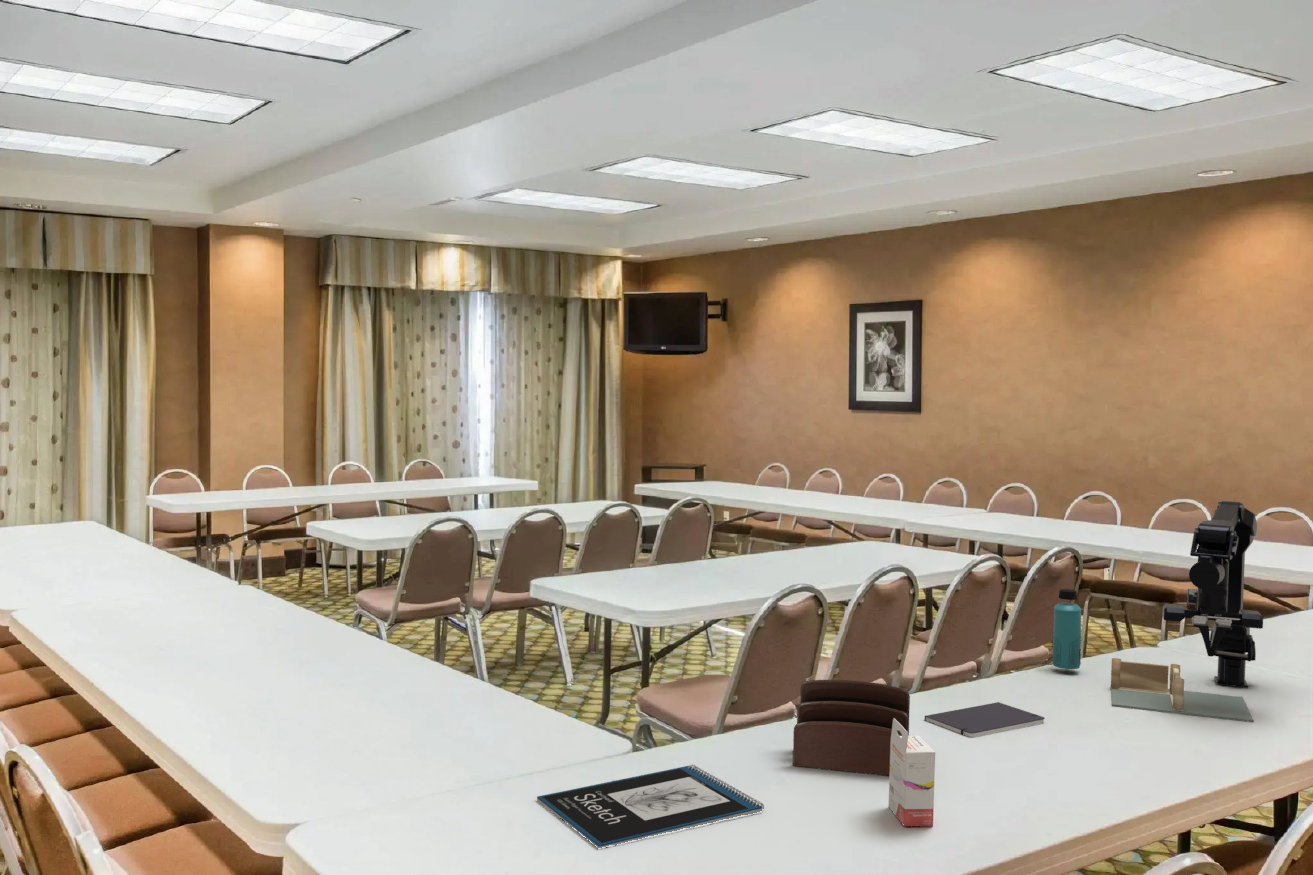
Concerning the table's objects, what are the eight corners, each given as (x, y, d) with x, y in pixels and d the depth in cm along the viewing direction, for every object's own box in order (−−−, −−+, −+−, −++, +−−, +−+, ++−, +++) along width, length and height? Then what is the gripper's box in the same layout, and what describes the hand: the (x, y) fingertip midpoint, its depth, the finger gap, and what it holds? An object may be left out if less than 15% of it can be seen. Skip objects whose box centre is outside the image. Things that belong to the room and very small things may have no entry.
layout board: (1110, 684, 255) (1111, 682, 255) (1242, 698, 245) (1242, 696, 245) (1111, 706, 238) (1111, 703, 238) (1253, 722, 228) (1253, 719, 228)
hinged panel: (1169, 693, 245) (1170, 666, 245) (1179, 694, 244) (1180, 667, 244) (1173, 708, 233) (1174, 679, 233) (1183, 710, 233) (1184, 680, 232)
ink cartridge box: (935, 827, 170) (937, 733, 169) (903, 828, 170) (906, 733, 169) (917, 806, 179) (919, 716, 178) (887, 806, 178) (889, 716, 177)
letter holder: (799, 749, 206) (801, 674, 205) (908, 760, 201) (910, 684, 200) (792, 767, 196) (793, 688, 196) (906, 779, 191) (908, 698, 191)
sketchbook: (536, 804, 178) (536, 792, 178) (693, 773, 194) (693, 762, 193) (599, 853, 160) (599, 839, 160) (767, 815, 175) (767, 802, 175)
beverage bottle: (1082, 676, 262) (1085, 592, 261) (1053, 674, 263) (1056, 591, 262) (1077, 669, 268) (1080, 587, 267) (1049, 667, 270) (1052, 586, 269)
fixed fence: (1110, 688, 252) (1111, 657, 252) (1178, 695, 247) (1180, 664, 246) (1110, 690, 250) (1111, 659, 250) (1179, 697, 245) (1180, 666, 245)
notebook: (998, 709, 236) (924, 723, 225) (998, 702, 236) (924, 715, 225) (1046, 725, 225) (970, 741, 214) (1046, 717, 225) (971, 732, 214)
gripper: (1257, 580, 238) (1254, 652, 239) (1162, 574, 245) (1159, 643, 246) (1264, 589, 228) (1261, 664, 229) (1165, 581, 235) (1162, 654, 236)
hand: (1210, 656), depth 235 cm, fingers closed
